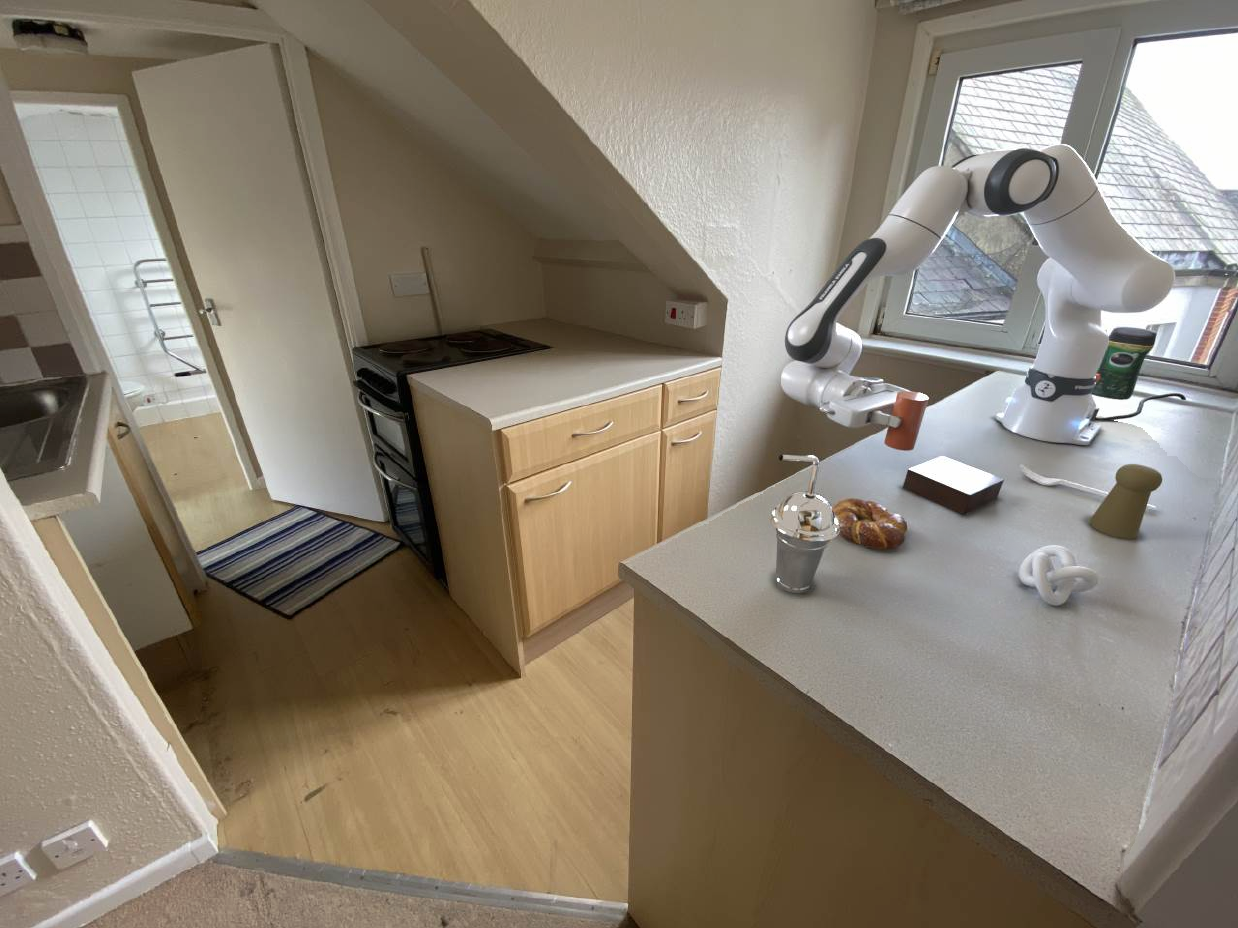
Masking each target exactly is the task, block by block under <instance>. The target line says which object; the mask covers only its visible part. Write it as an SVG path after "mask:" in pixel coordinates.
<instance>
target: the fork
mask: <svg viewBox="0 0 1238 928" xmlns="http://www.w3.org/2000/svg"><path fill="white" fill-rule="evenodd" d="M1018 469H1019V470H1020V471H1021V472H1022V473H1023V474H1024V475H1025V476H1026V477H1028V478H1029V479H1031V480H1032V481H1034V482H1035V483H1037V484H1040V485H1043V486H1054V485H1063V486H1066V487H1070V488H1074V489H1077V490H1080V491H1085V492H1088V493H1092V494H1094V495H1098V496H1102V497H1104V498H1106V497H1107V495H1108V494H1109V493H1110V492H1108V491H1104V490H1101V489H1097V488H1095V487H1090V486H1087V485H1083V484H1080V483H1077V482H1073V481H1069V480H1066V479H1062V478H1055V477H1053V478H1052V477H1047V476H1043V475H1041V474H1038V473H1036V472H1034V471H1032V469H1031V470H1030V469H1029V468H1028V467H1026V466H1025V465H1023V464H1022V463H1020V465H1019V467H1018ZM1146 509H1149V510H1152V511H1157V506H1156V505H1152V504H1149V503H1148V504H1147V507H1146Z"/></svg>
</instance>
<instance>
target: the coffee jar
mask: <svg viewBox="0 0 1238 928" xmlns="http://www.w3.org/2000/svg"><path fill="white" fill-rule="evenodd" d="M1108 337H1109V345H1108V347H1107V350H1106V352H1105V354H1104V357H1103V359H1102V361H1101V364H1100V366H1099V368H1098V370H1097V373H1096V374H1100V377H1099V380H1098V381H1097V382H1096V385H1095V387H1094V390H1093V392H1092V393H1091V395H1092V396H1095V397H1098V398H1099V397H1100V398H1103V399H1110V400H1111V399H1112V400H1120V401H1123V400H1124V401H1127V400H1129V399H1131V398H1132V396H1133V394H1134V391H1135V388H1136V385H1137V382H1138V378H1139V375H1140V372H1141V370H1142V366H1143V364H1144V361H1145V359H1146V357H1147V355H1148V354H1149V353H1150V352H1151V351H1152V350H1153V349H1154V347H1155V344H1156V338H1157V331H1156V330H1153V329H1147V328H1141V327H1133V326H1115V327H1114V328H1113V329H1112V331H1111V332H1110V333H1109V334H1108Z"/></svg>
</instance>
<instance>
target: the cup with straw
mask: <svg viewBox="0 0 1238 928" xmlns="http://www.w3.org/2000/svg"><path fill="white" fill-rule="evenodd" d="M778 459H779V461H781V462H804V463H805V462H808V463H810V462H811V463H812V469H811V474H810V480H809V485H808V488H807V490H803V491H797V492H793V493H791V494H789V495H788V496H787V497H786V498H784V500H783V501H782V502H781V503H780V504H778V505H776V506H775V507H774V508H773V510H772V513H771V515H770V520H771V524H772V525H773V526H774V527H775V533H776V536H775V537H776V562H775V563H776V565H775V575H776V577H775V583H776V584H777V586H778V587H779V588H780V589H781V590H783V591H785V592H787V593H791V594H797V595H799V594H806V593H807V592H809V590H810V588H811V584H812V583H813V581H814V578H815V576H816V573H817V570H818V568H819V565H820V562H821V559H822V557H823V555H824V551H825V549H826V548H827V547H828V545H829V543H830V541H831V540H833V539H834V538H836V537H837V536H838V535H839V531H840V523H839V520H838V518H837V517H836V516H835V515H834V511H833V507H832V504H831V503H830V502H829V500H827V499H826V498H825V497H824V496H822V495H821V494H819V493H816V492H815V488H816V485H817V484H816V483H817V478H818V473H819V467H820V459H818V457H817V456H815V455H800V454H799V455H795V454H780V455H779V457H778Z"/></svg>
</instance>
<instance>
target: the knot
mask: <svg viewBox="0 0 1238 928" xmlns="http://www.w3.org/2000/svg"><path fill="white" fill-rule="evenodd" d="M1051 557H1059V559H1060V562H1061V567H1059V568H1056V569H1055V567H1054V563H1053V561H1052V558H1051ZM1018 578H1019V581H1020V583H1022V584H1023V585H1025V586H1027V587H1029V588H1036V590H1037V591H1038V594H1039V595H1040V597H1041V598H1042V599H1043V601H1045V602H1046V604H1048V605H1051V606H1055V607H1056V606H1061V605H1063V604H1064V603H1066V602H1067V600H1069V598H1070V595H1071V593H1083V592H1087V591H1091V590H1092V589H1094V588H1096V587H1097V586H1098V585H1099V582H1100V578H1099V575H1098V574H1097V572H1096V571H1094V569H1091V568H1089V567H1086V566H1079V565H1077V563H1076V558H1075V555H1074V554H1073V553H1072V551H1071V550H1069V549H1068V548H1066V547H1064V546H1062V545H1057V544H1050V545H1045V546H1042V547H1040V548H1038V549H1035V550H1034V551H1032V552H1030V554H1028V556H1026V557H1025V558H1024V559H1023V561H1022V562H1021V564H1020V566H1019V569H1018ZM1076 578H1077V579H1080V580H1075V579H1076ZM1052 587H1053V588H1056V589H1055V591H1054V590H1053V589H1052Z"/></svg>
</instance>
